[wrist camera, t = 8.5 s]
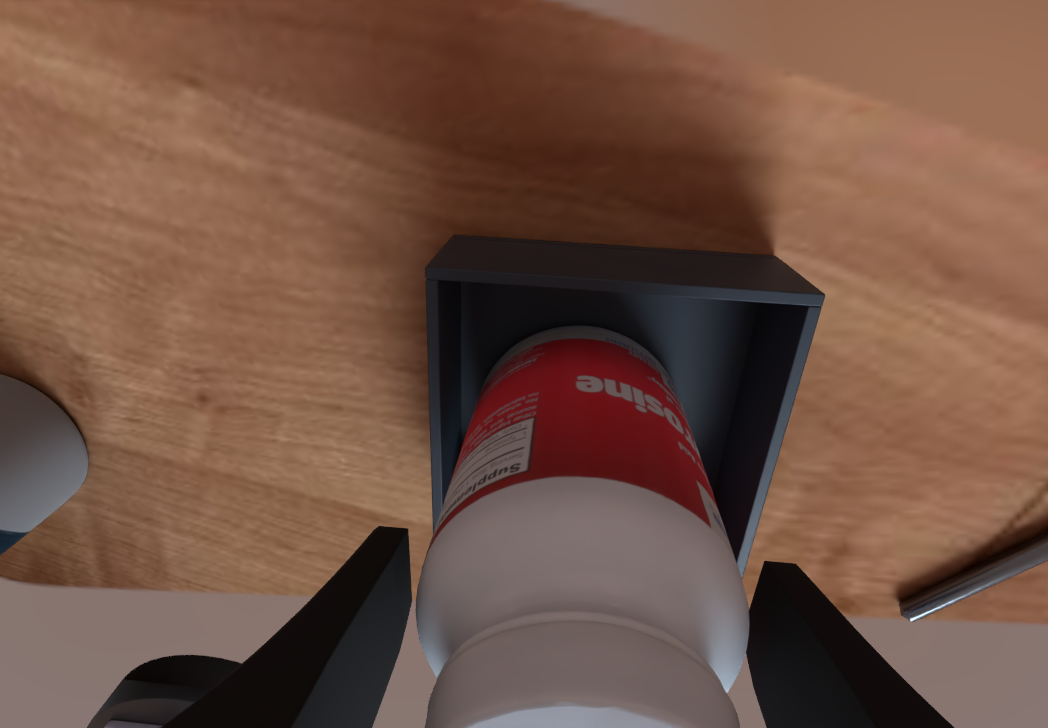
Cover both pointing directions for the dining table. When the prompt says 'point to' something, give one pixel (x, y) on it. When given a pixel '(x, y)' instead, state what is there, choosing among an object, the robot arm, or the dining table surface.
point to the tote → (645, 317)
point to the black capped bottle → (35, 459)
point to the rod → (976, 579)
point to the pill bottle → (581, 552)
